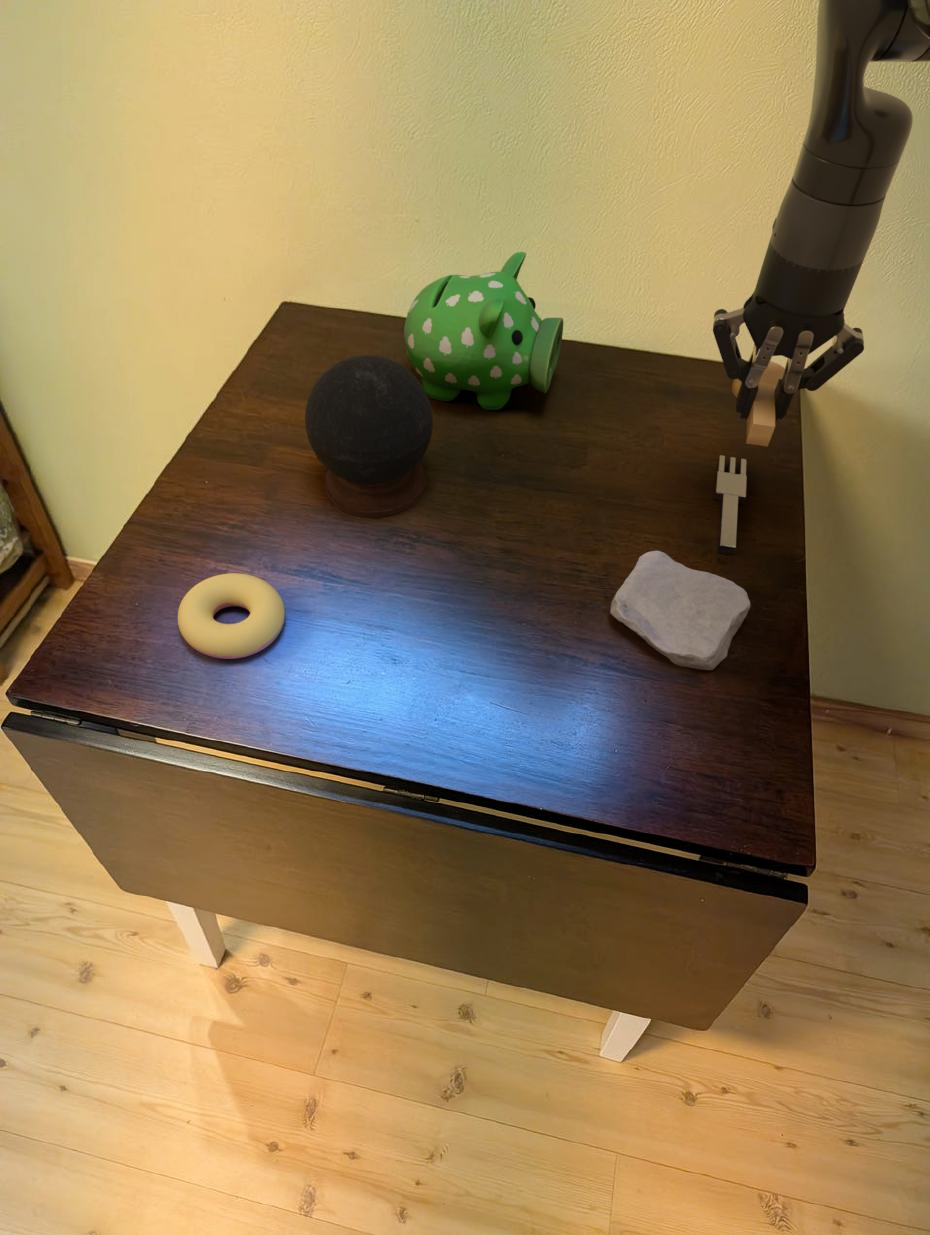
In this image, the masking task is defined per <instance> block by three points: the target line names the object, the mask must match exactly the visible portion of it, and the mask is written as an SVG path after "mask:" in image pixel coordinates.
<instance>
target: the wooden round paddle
mask: <svg viewBox="0 0 930 1235" xmlns="http://www.w3.org/2000/svg"><path fill="white" fill-rule="evenodd" d="M784 370H785V367H784V366H783V365H781V364H779V363H777V362H774V361H772V360H770V362H769V364H768V367H767V369H765V370H764V373H763V375H762V377H761V379H760V381H759V385H758V392H757V395H756V398H755V401H754V402H753V405H752V408H751V411H750V414H749V416H748V419H746V434H745V436H746V437H745V439H746V440H745V443H746V445H754V446H760V447H766V448H767V447H769V445H770V441H771V439H772V437H773V434H774V432H775V428H776V423H775V389H776V386H777V383H778V380H779V379H782V377H783V375H784ZM741 383H742V382H741V381H740V380H739V379H733V381H732V383H731V391H732V393H733V395H734V397H736V398H737V396H738V392H739V389H740V386H741Z"/></svg>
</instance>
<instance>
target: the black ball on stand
mask: <svg viewBox="0 0 930 1235" xmlns="http://www.w3.org/2000/svg"><path fill="white" fill-rule="evenodd" d="M432 409H433V408H432V405H431V402H430V399H429V396H428V394H427V393H426V392H425V389H424V388H423V384H421V382H420V381H419V379H418V378H417V377H416V376H415V374H414V373H412V372H411V371H410V370H409V369H407V368H406V367H405V366H404V365H402V364H401V363H399V362H397V361H396V360H392V359H390V358H387V357H384V356H381V355H372V354H371V355H370V354H363V355H356V356H351V357H348V358H346V359H342V360H341V361H338V362H337V363H334V364H333V365H332V366H331V367H329V368H328V369H327V370H326V371H325V372H324V373H323V374H321V376H320V377H319V378H318V379H317V380H316V382H315V383H314V385H313V387H312V389H311V390H310V393H309V396H308V398H307V402H306V407H305V414H304V422H305V424H304V425H305V431H306V435H307V439H308V443H309V445H310V447H311V449H312V451H313V452H314V455H315V456H316V458H317V459H318V461H319V462H320V463H321V464H322V465H323V466H324V467H325V468H326V471H325V474H324V478H323V479H324V480H323V483H324V490H325V494H326V496H327V498H328V499H329V501H330V502H331V504H333V506H335V507H336V508H338V509H339V510H340V511H342V512H344V513H346V514H349V515H352V516H356V517H360V518H368V519H370V518H371V519H373V518H374V519H375V518H385V517H390V516H393V515H396V514H399V513H401V512H404V511H406V510H408V509H409V508H411V507H412V506H413V505H415V504H416V503H417V502H418V501H419V500H420V498H421V497H422V495H423V493H424V492H425V488H426V484H427V482H426V470H425V467H424V466H423V464H422V462H421V461H422V459H423V458H424V455H425V454H426V452H427V451H428V448H429V446H430V442H431V439H432V436H433V427H434V420H433V419H434V417H433V410H432Z"/></svg>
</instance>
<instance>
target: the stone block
mask: <svg viewBox="0 0 930 1235" xmlns="http://www.w3.org/2000/svg"><path fill="white" fill-rule="evenodd" d="M750 609H751V601H750V599H749V596H748V593H747V591H746V590H745V589H744V588H742V587H741V586H740V585H738V584H736V583H735V582H734V581H732V580H729V579H727V578H726V577H722V576H719V575H717V574H713V573H712V572H708V571H701V570H696V569H692V568H690V567H687V566H685V565H684V564H682V563H680V562H677V561H675V560H674V559H673V558H671V556H669V555H668V554H667V553H665V552H663V551H660V550H651V551H648V552H646V553H644V554H642V555H641V556H639V557H638V560H637V562H636V565H635V566H634V568H633V569H632V571H631V572H630V574H629V575H628V576H627V578H625V580H624V582H623V584H622V585H621V586H620V588H618V590H617V591H616V593H615V595H614V596H613V598H612V600H611V603H610V611H609V613H610V615H611V616H612V617H613V618H614V619H616V620H617V621H618V622H620V623H623V624H624V625H625V626H626V627H627V628H629V629H630V630H631V631H632V632H633V633H636V634H637V635H638V636H639V637H641V639H643V640H644V641H645V642H646V643H647V644H648V645H649V646H650V647H652V648H653V649H654V650H656V651H657V652H658V653H659V654H661V655H663V656H665V657H666V658H667V659H668V660H670V662H671V663H672V664H674V665H676V666H678V667H682V668H691V669H695V670H700V671H701V670H702V671H713V670H714V669H715V668H716V667H717V666H718V665H719V664H720V663H721V662H722V661H724V659H726V658H727V657H728V652H729V649H730V646H731V642H732V639H733V637H734V636H735V635H736V634H737V632H738V630H739V628H741V626H742V624H743V622H744V621H745V619H746V618H747V615H748V612H749V610H750Z"/></svg>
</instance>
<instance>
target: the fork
mask: <svg viewBox="0 0 930 1235" xmlns="http://www.w3.org/2000/svg"><path fill="white" fill-rule="evenodd" d="M747 460H748V459H746V458H741V459H740V461H739V464H738V472H737V473H736V463H737V462H736V461H737V457H734V456H730V458H729V460H728V464H727V472H726V471H725V463H726V456H725V455H721V454H720V455H719V457H718V460H717V463H716V475H715V478H714V491H713V501H717V502H720V509H719V523H718V524H719V526H718V540H717V553H718V554H723V555H729V556H734V554H735V551H736V549H737V530H738V513H739V512H738V511H739V505H742V506H743V505H744V503H745V501H746V498H747V478H748V475H747V462H748V461H747Z"/></svg>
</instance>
